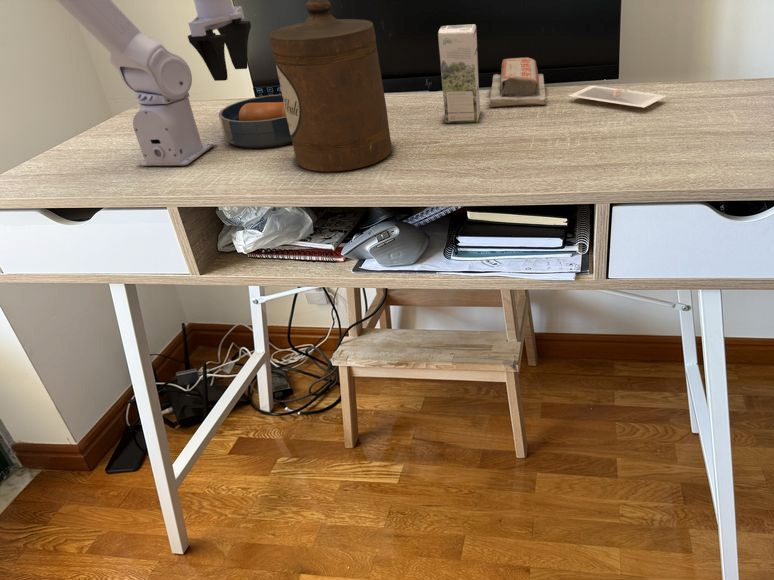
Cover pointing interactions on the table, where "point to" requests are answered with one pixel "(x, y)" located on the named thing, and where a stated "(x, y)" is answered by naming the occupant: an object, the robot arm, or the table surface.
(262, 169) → the table surface
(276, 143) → the bowl
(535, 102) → the packaged product
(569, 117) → the table surface
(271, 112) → the bun
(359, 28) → the wooden container
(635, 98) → the touchpad
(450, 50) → the syrup box
